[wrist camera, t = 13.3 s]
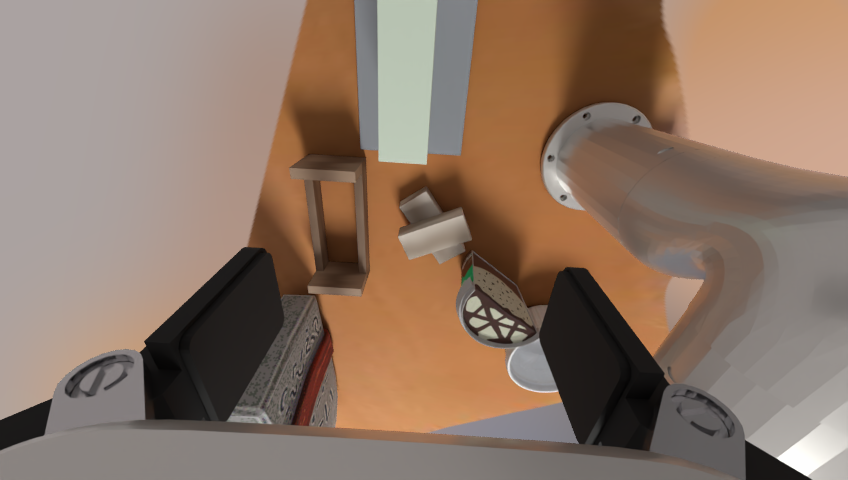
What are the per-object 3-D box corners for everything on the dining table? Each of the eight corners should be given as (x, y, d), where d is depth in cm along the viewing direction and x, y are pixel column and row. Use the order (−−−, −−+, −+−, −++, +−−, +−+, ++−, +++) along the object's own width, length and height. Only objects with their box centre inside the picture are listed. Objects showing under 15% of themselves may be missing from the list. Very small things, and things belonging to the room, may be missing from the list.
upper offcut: (399, 227, 41) (398, 236, 39) (461, 206, 39) (463, 214, 37) (410, 250, 43) (409, 259, 40) (470, 230, 41) (472, 239, 39)
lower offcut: (426, 184, 41) (426, 191, 39) (463, 242, 45) (465, 251, 43) (400, 199, 42) (399, 207, 40) (439, 254, 46) (439, 264, 44)
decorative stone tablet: (199, 414, 31) (275, 516, 48) (263, 417, 31) (317, 518, 48) (279, 283, 48) (315, 394, 64) (322, 285, 47) (347, 395, 64)
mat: (478, -12, 30) (479, -13, 30) (460, 154, 38) (460, 155, 38) (354, -20, 30) (353, -21, 30) (361, 148, 38) (360, 149, 38)
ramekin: (598, 313, 50) (621, 347, 44) (551, 365, 56) (566, 402, 50) (524, 286, 48) (537, 319, 41) (484, 344, 54) (490, 379, 48)
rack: (365, 157, 39) (355, 171, 33) (369, 270, 47) (361, 296, 42) (308, 154, 39) (289, 167, 33) (322, 267, 47) (308, 293, 42)
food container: (435, 271, 47) (435, 318, 38) (463, 243, 44) (471, 287, 35) (494, 313, 50) (506, 365, 41) (523, 289, 48) (543, 340, 39)
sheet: (437, 10, 31) (438, -18, 21) (428, 136, 37) (426, 164, 26) (396, 7, 31) (377, -23, 21) (394, 134, 37) (378, 161, 26)
